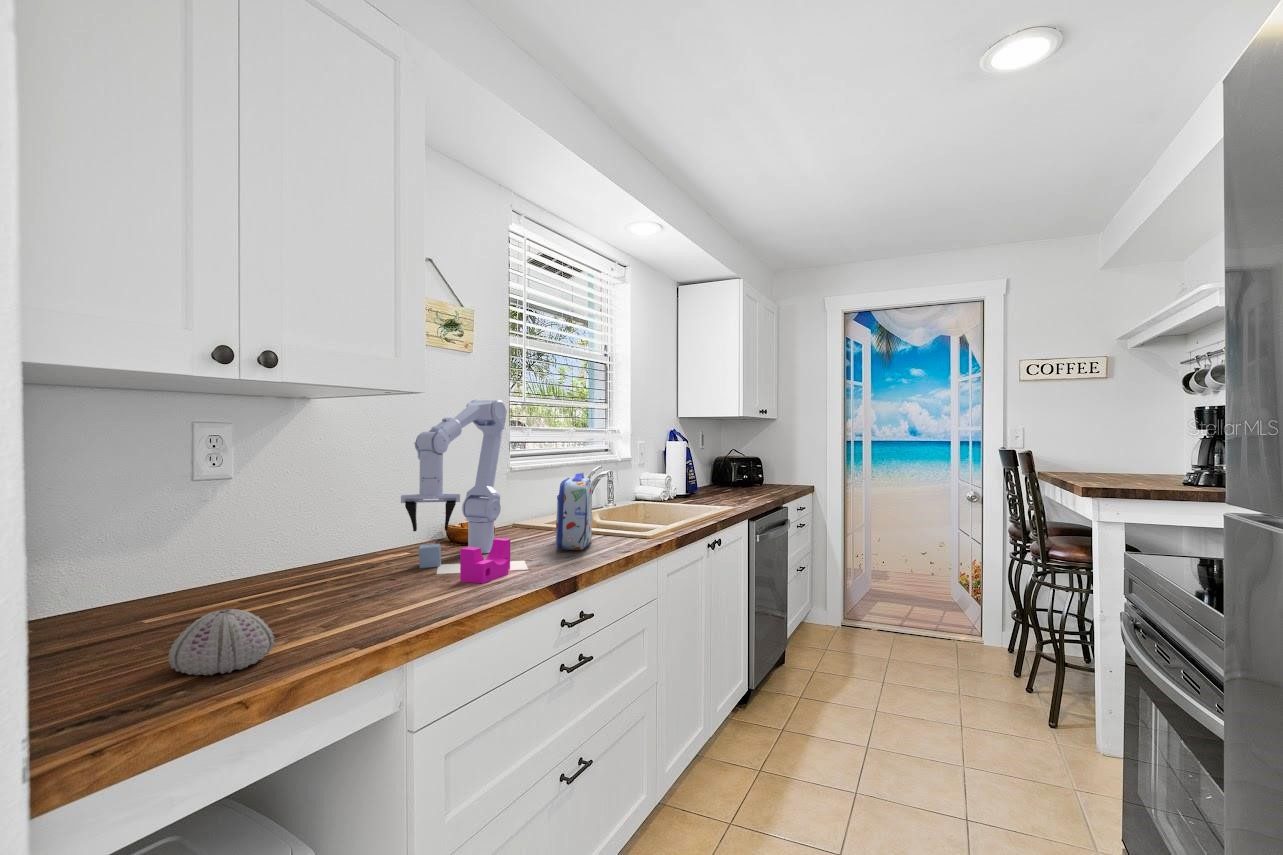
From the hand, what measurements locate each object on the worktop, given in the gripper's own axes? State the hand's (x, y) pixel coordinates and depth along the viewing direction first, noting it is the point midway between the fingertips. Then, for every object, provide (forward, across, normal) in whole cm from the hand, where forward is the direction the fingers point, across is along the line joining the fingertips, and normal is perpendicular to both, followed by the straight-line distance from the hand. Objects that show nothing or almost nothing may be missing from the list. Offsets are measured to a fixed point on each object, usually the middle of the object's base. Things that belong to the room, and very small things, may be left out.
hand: (430, 530), depth 165 cm
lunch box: (+9, +41, +20) cm, 47 cm away
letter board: (+9, +13, -6) cm, 17 cm away
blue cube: (+9, 0, 0) cm, 9 cm away
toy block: (+9, +15, -15) cm, 23 cm away
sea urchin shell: (+10, -26, -65) cm, 71 cm away
